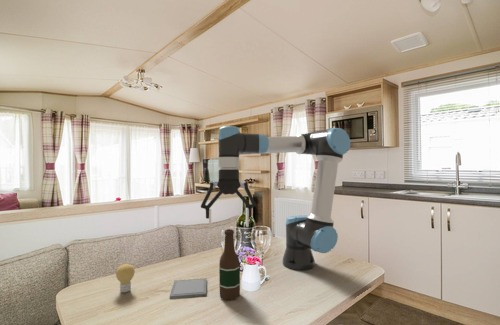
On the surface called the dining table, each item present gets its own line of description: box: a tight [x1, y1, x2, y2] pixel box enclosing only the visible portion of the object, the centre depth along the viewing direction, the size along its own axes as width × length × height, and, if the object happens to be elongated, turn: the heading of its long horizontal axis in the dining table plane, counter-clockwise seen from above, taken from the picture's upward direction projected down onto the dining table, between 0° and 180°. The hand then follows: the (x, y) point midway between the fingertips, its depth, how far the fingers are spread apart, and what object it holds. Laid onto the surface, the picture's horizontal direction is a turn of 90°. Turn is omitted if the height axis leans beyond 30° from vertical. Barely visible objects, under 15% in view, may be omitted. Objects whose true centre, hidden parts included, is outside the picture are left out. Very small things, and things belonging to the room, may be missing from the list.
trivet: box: [169, 277, 208, 299], centre depth 102 cm, size 13×13×1 cm
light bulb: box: [115, 263, 136, 294], centre depth 100 cm, size 6×6×10 cm
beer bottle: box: [218, 228, 241, 302], centre depth 96 cm, size 8×8×24 cm
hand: (228, 226), depth 96 cm, fingers open, 13 cm apart
